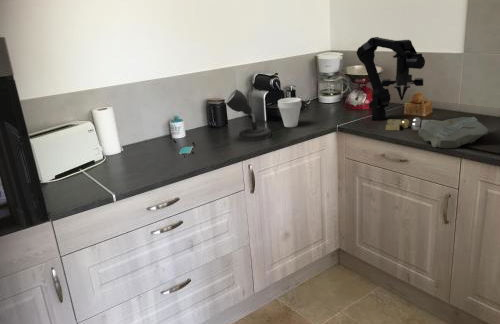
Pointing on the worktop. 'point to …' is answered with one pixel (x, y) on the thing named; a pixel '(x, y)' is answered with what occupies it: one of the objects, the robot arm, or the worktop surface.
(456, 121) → the stone
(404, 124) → the olive box with knob
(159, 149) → the worktop surface
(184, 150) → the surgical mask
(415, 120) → the fixed leaf
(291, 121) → the cup
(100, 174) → the worktop surface
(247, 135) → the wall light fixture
